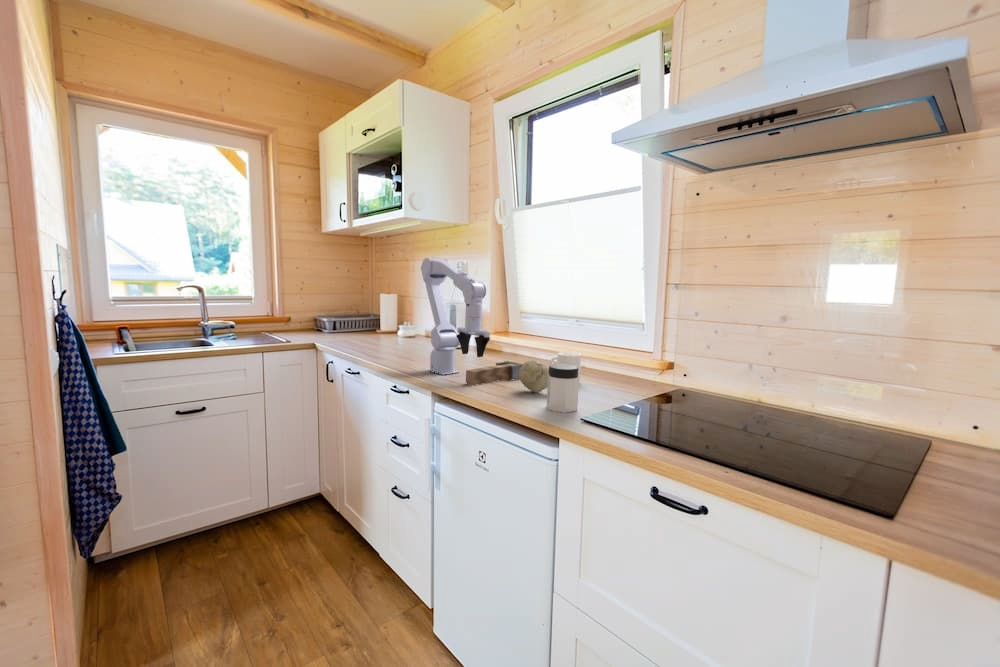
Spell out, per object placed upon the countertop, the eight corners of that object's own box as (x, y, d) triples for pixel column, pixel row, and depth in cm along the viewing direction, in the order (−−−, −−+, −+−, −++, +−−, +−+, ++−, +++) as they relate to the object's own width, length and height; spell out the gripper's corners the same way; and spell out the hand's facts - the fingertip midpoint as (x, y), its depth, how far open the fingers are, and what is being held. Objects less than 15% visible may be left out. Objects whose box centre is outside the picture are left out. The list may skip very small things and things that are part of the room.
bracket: (494, 375, 165) (494, 362, 165) (506, 373, 170) (507, 360, 170) (513, 380, 158) (514, 366, 158) (526, 377, 163) (527, 364, 163)
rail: (509, 376, 167) (510, 363, 166) (516, 378, 164) (517, 364, 164) (465, 384, 151) (466, 370, 150) (472, 386, 149) (473, 371, 148)
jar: (564, 403, 130) (565, 363, 128) (583, 410, 123) (585, 367, 122) (540, 407, 125) (541, 365, 124) (559, 414, 118) (561, 370, 117)
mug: (543, 380, 160) (544, 352, 159) (555, 377, 167) (556, 350, 166) (572, 385, 153) (573, 356, 152) (583, 382, 159) (585, 353, 158)
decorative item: (512, 391, 143) (513, 360, 142) (528, 386, 149) (529, 357, 148) (542, 398, 135) (543, 365, 134) (558, 393, 141) (559, 362, 140)
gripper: (451, 315, 156) (450, 353, 158) (480, 319, 146) (478, 359, 148) (465, 315, 161) (464, 351, 163) (494, 318, 152) (493, 357, 153)
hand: (472, 355), depth 156 cm, fingers open, 7 cm apart
